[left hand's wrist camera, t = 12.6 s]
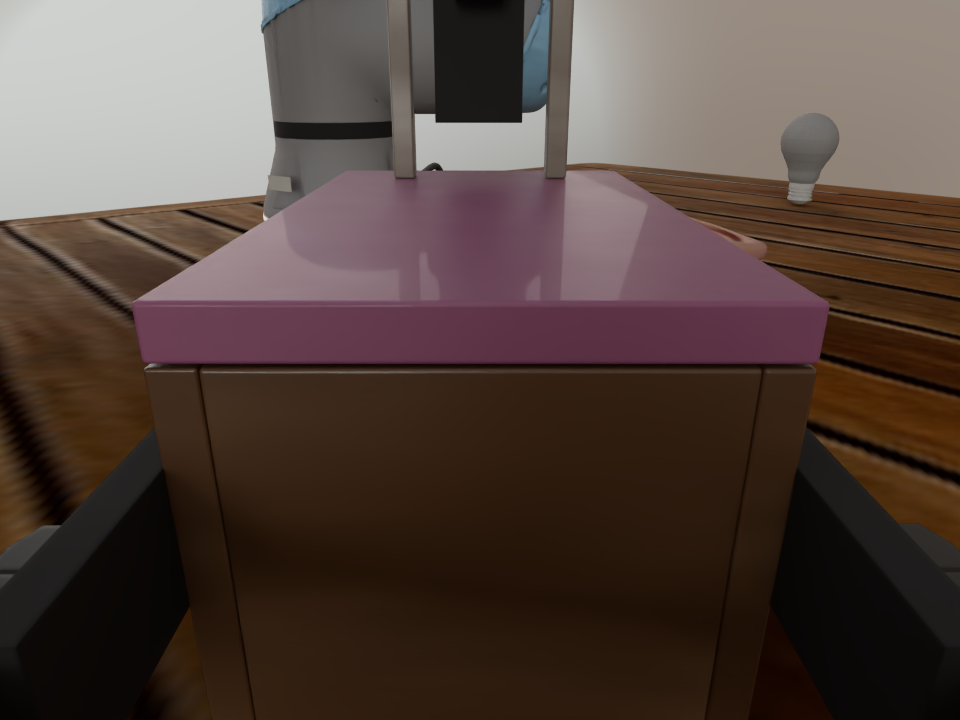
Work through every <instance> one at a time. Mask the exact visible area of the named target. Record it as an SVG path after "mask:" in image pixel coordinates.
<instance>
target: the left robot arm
mask: <svg viewBox="0 0 960 720" xmlns="http://www.w3.org/2000/svg"><path fill="white" fill-rule="evenodd" d="M770 605H771V607H772V609H773V611H774V612H775V614H776V616H777V618H778V619H779V621H780V623H781V625H782V627H783V628H784V630H785V632H786V634H787V636H788V637H789V639H790V641H791V643H792V645H793V646H794V648H795V650H796V652H797V654H798V655H799V657H800V659H801V661H802V662H803V664H804V666H805V668H806V670H807V671H808V673H809V675H810V677H811V679H812V680H813V682H814V684H815V686H816V688H817V689H818V691H819V693H820V695H821V697H822V698H823V700H824V702H825V704H826V706H827V707H828V709H829V711H830V713H831V714H832V716H833V718H834V720H960V551H959V550H958V549H957V548H956V547H955V546H954V545H953V544H952V543H950V542H948V541H947V540H945V539H943V538H942V537H940V536H938V535H937V534H935V533H933V532H932V531H930V530H928V529H926V528H925V527H923V526H921V525H920V524H898V523H897V522H896V521H895V520H894V519H893V518H892V517H891V516H890V515H889V514H888V513H887V512H886V511H885V509H884V508H883V507H882V506H881V505H880V504H879V503H878V502H877V501H876V500H875V499H874V498H873V497H872V496H871V495H870V494H869V493H868V492H867V491H866V490H865V488H864V487H863V486H862V485H861V484H860V483H859V482H858V481H857V480H856V479H855V478H854V477H853V476H852V475H851V474H850V473H849V472H848V471H847V470H846V469H845V468H844V466H843V465H842V464H841V463H840V462H839V461H838V460H837V459H836V458H835V457H834V456H833V455H832V454H831V453H830V452H829V451H828V450H827V449H826V448H825V447H824V446H823V444H822V443H821V442H820V441H819V440H818V439H817V438H816V437H815V436H814V435H813V434H812V433H811V432H810V431H809V430H808V429H807V428H806V429H805V434H804V439H803V444H802V449H801V454H800V459H799V464H798V468H797V472H796V477H795V482H794V488H793V493H792V498H791V503H790V508H789V513H788V518H787V523H786V528H785V533H784V538H783V543H782V549H781V554H780V559H779V564H778V569H777V574H776V579H775V584H774V589H773V594H772V599H771V604H770ZM189 607H190V602H189V597H188V592H187V587H186V582H185V577H184V572H183V567H182V561H181V556H180V551H179V546H178V541H177V536H176V531H175V526H174V521H173V516H172V511H171V505H170V500H169V495H168V490H167V485H166V480H165V475H164V470H163V467H162V462H161V457H160V452H159V447H158V441H157V436H156V431H155V427H154V429H153V430H152V431H151V432H150V433H149V434H148V435H147V436H146V437H145V438H144V439H143V440H142V441H141V442H140V443H139V444H138V445H137V446H136V447H135V448H134V450H133V451H132V452H131V453H130V454H129V455H128V456H127V457H126V458H125V459H124V460H123V461H122V462H121V463H120V464H119V465H118V466H117V467H116V468H115V469H114V470H113V472H112V473H111V474H110V475H109V476H108V477H107V478H106V479H105V480H104V481H103V482H102V483H101V484H100V485H99V486H98V487H97V488H96V489H95V490H94V491H93V493H92V494H91V495H90V496H89V497H88V498H87V499H86V500H85V501H84V502H83V503H82V504H81V505H80V506H79V507H78V508H77V509H76V510H75V511H74V512H73V513H72V515H71V516H70V517H69V518H68V519H67V520H66V521H65V522H64V523H63V524H62V525H61V526H42V527H40V528H39V529H37V530H35V531H34V532H32V533H30V534H29V535H27V536H25V537H24V538H22V539H20V540H19V541H17V542H15V543H14V544H12V545H10V546H9V547H8V548H7V549H6V550H5V551H4V552H3V553H2V554H1V555H0V720H126V719H127V718H128V716H129V714H130V712H131V710H132V709H133V707H134V705H135V703H136V702H137V700H138V698H139V696H140V694H141V693H142V691H143V689H144V687H145V685H146V684H147V682H148V680H149V678H150V676H151V675H152V673H153V671H154V669H155V667H156V666H157V664H158V662H159V660H160V658H161V657H162V655H163V653H164V651H165V650H166V648H167V646H168V644H169V642H170V641H171V639H172V637H173V635H174V633H175V632H176V630H177V628H178V626H179V624H180V623H181V621H182V619H183V617H184V615H185V614H186V612H187V610H188V608H189Z"/></svg>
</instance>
